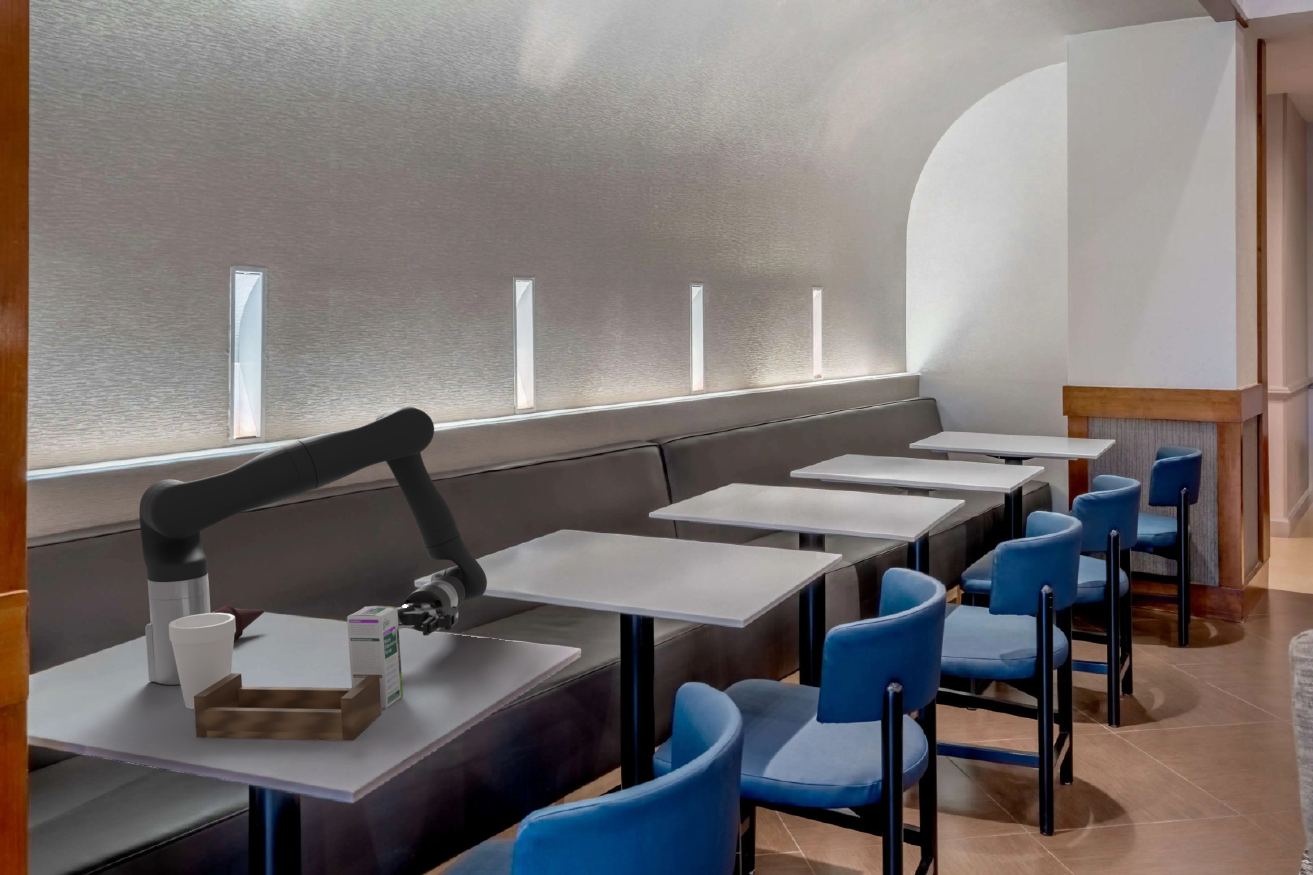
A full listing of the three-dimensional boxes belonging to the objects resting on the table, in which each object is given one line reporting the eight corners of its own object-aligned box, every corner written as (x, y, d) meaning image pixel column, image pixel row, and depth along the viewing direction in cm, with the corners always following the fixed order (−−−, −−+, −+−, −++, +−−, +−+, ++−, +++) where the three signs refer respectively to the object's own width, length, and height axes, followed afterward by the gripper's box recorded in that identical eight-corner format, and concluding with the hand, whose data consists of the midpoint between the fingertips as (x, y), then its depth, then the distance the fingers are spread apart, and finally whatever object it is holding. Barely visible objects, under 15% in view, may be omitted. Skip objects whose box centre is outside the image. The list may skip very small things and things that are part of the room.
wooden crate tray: (196, 737, 151) (193, 696, 150) (233, 711, 161) (231, 673, 161) (353, 740, 148) (351, 698, 148) (381, 714, 159) (379, 675, 158)
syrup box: (387, 709, 161) (382, 615, 159) (351, 707, 162) (346, 614, 161) (403, 697, 166) (399, 605, 165) (368, 695, 167) (364, 604, 166)
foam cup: (195, 716, 160) (190, 631, 158) (162, 705, 165) (156, 623, 164) (252, 698, 167) (247, 617, 166) (218, 688, 173) (213, 610, 171)
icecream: (248, 596, 210) (177, 619, 198) (269, 591, 206) (198, 615, 193) (258, 629, 210) (188, 655, 198) (279, 625, 206) (209, 651, 194)
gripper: (391, 584, 190) (356, 606, 174) (469, 584, 189) (440, 607, 173) (393, 625, 191) (358, 651, 175) (471, 625, 189) (442, 652, 173)
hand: (399, 629), depth 174 cm, fingers open, 8 cm apart
